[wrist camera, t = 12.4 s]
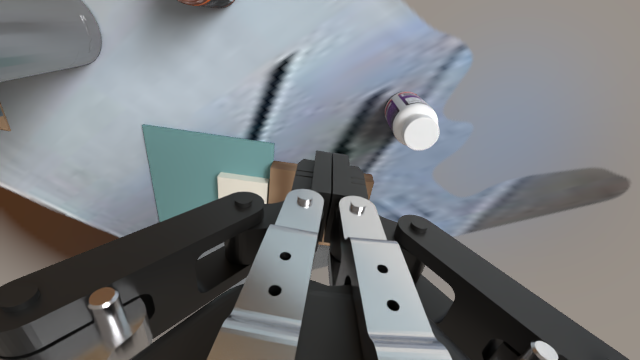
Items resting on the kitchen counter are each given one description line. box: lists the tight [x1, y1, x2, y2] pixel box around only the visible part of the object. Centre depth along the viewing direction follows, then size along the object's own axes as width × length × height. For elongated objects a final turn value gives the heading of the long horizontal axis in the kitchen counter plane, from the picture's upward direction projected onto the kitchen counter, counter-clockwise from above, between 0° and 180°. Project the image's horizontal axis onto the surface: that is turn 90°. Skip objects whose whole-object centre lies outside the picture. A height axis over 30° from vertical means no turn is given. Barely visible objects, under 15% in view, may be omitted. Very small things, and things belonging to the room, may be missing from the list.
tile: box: [217, 172, 270, 204], centre depth 48 cm, size 8×8×2 cm
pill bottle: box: [385, 92, 439, 150], centre depth 37 cm, size 5×5×10 cm
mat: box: [142, 124, 274, 222], centre depth 49 cm, size 20×20×1 cm
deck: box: [268, 161, 374, 246], centre depth 48 cm, size 16×14×2 cm
